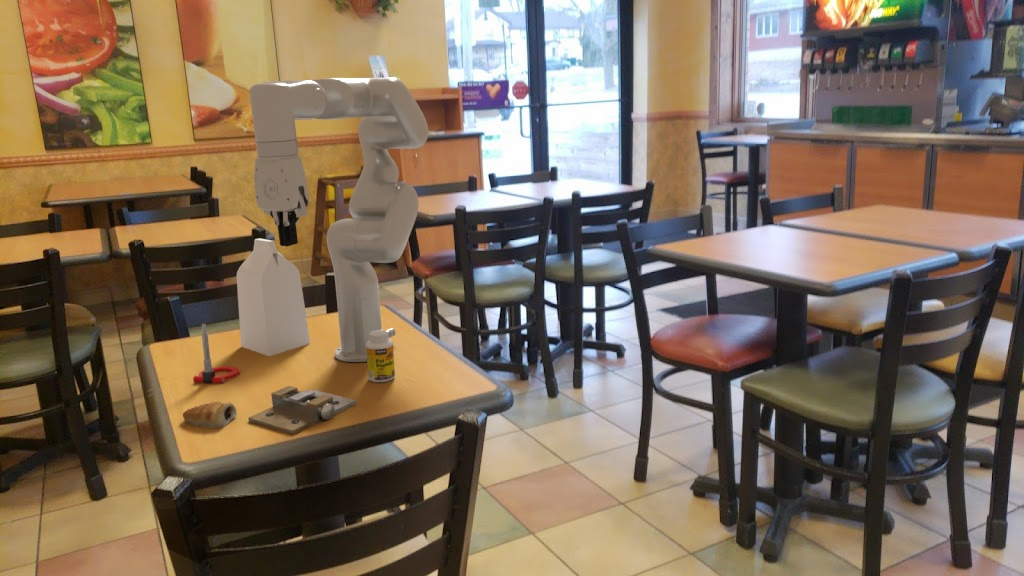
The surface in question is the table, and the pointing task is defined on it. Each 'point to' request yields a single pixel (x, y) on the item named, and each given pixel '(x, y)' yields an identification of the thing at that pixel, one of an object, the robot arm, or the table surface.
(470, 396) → the table surface
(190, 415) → the pastry
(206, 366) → the tow hook
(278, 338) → the milk
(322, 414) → the pin
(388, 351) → the supplement bottle
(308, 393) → the hinge leaves
